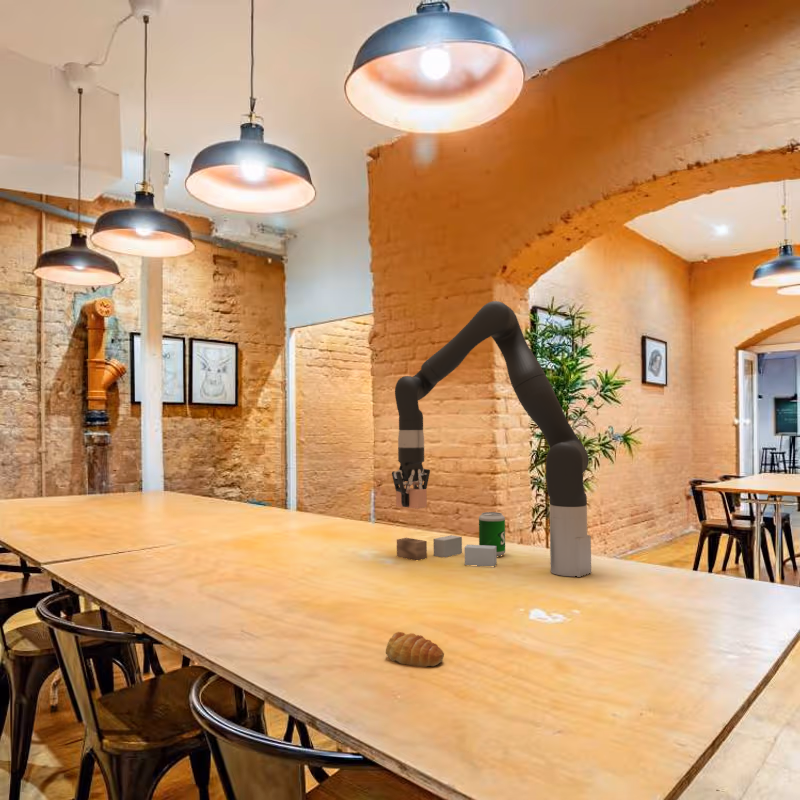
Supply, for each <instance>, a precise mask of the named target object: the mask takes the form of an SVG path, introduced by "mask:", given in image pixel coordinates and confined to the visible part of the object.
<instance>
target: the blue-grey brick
mask: <svg viewBox="0 0 800 800" xmlns="http://www.w3.org/2000/svg"><path fill="white" fill-rule="evenodd" d="M497 558H498V557H497V553H496V546H486V545H479V544H466V545H465V546H464V566H465V565H477V566H476V567H480V566H495V565H496V566H497V564H496V563H498V562H497ZM496 566H495V567H496Z"/></svg>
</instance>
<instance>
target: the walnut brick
mask: <svg viewBox="0 0 800 800" xmlns="http://www.w3.org/2000/svg"><path fill="white" fill-rule="evenodd" d="M427 543H428V542H427V540H422V539H417V538H412V537H411V538H409V537H404V538H398V539H396V557H397V556H398V558H401V557H403V558H402V559H406V558H407V559H408V560H411V559H412V560H413V561H416V560H418V561H421V559H422V560H426V559H425V558H427V559H428V550H427V549H428V547H427V546H428V544H427ZM407 559H406V560H407ZM412 560H411V561H412Z"/></svg>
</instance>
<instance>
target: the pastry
mask: <svg viewBox="0 0 800 800" xmlns="http://www.w3.org/2000/svg"><path fill="white" fill-rule="evenodd" d="M385 655H386V656H387V657H388V658H389V659H390V660H391V661H392V662H395V661H396V662H397V663H399V664H401V665H405V666H406V665H409V666H413V667H421V668H426V667H435V666H437V665H439V664H440V663H442V662H443V659H444V655H445V652H444V651H443V650H442V649H441V647H439V646H438V644H436V643H434V642H432V641H431V640H430V639H426V638H425V637H424V636H423V635H419V634H415V633H412V632H411V633H408V634H407V633H405V632H403V631H397V632H394V633H393V634H392V636H391V637H390V638H389V639H388V642H387V645H386V648H385Z"/></svg>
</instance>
